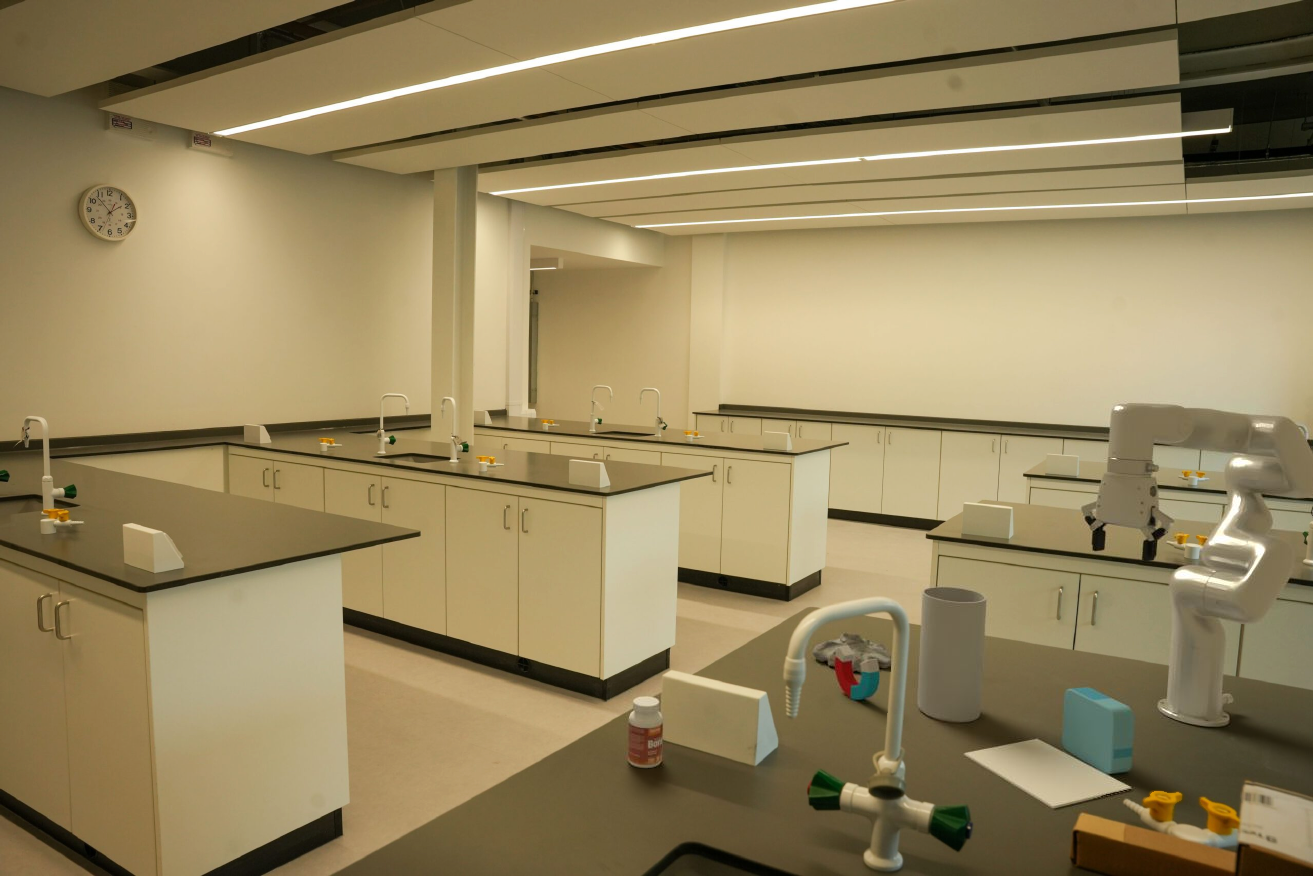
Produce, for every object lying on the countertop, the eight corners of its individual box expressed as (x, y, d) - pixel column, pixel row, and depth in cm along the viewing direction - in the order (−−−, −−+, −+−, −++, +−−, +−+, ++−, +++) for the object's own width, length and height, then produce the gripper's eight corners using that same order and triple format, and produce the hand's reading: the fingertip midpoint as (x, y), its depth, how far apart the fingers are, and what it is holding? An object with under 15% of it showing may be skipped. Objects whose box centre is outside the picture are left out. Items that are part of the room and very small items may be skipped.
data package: (1131, 775, 146) (1136, 709, 145) (1110, 777, 145) (1114, 711, 144) (1080, 745, 157) (1084, 684, 156) (1060, 747, 156) (1064, 686, 155)
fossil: (857, 631, 214) (886, 616, 201) (875, 673, 210) (906, 660, 197) (801, 651, 207) (828, 636, 194) (818, 694, 203) (847, 682, 190)
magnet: (878, 706, 174) (880, 660, 173) (868, 708, 173) (870, 662, 172) (843, 687, 185) (844, 643, 184) (833, 688, 183) (835, 645, 183)
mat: (1036, 740, 159) (1037, 738, 159) (1131, 789, 140) (1131, 787, 140) (964, 755, 152) (964, 753, 152) (1052, 808, 134) (1053, 806, 134)
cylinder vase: (916, 718, 168) (922, 598, 166) (917, 696, 180) (922, 584, 178) (982, 728, 164) (988, 605, 162) (978, 704, 176) (984, 590, 174)
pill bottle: (651, 772, 143) (652, 711, 142) (621, 764, 146) (622, 703, 145) (668, 758, 148) (669, 699, 148) (639, 750, 152) (640, 692, 151)
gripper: (1187, 472, 153) (1179, 563, 154) (1096, 463, 168) (1090, 545, 169) (1165, 473, 149) (1158, 566, 151) (1075, 463, 164) (1069, 548, 165)
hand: (1122, 555), depth 160 cm, fingers open, 9 cm apart
